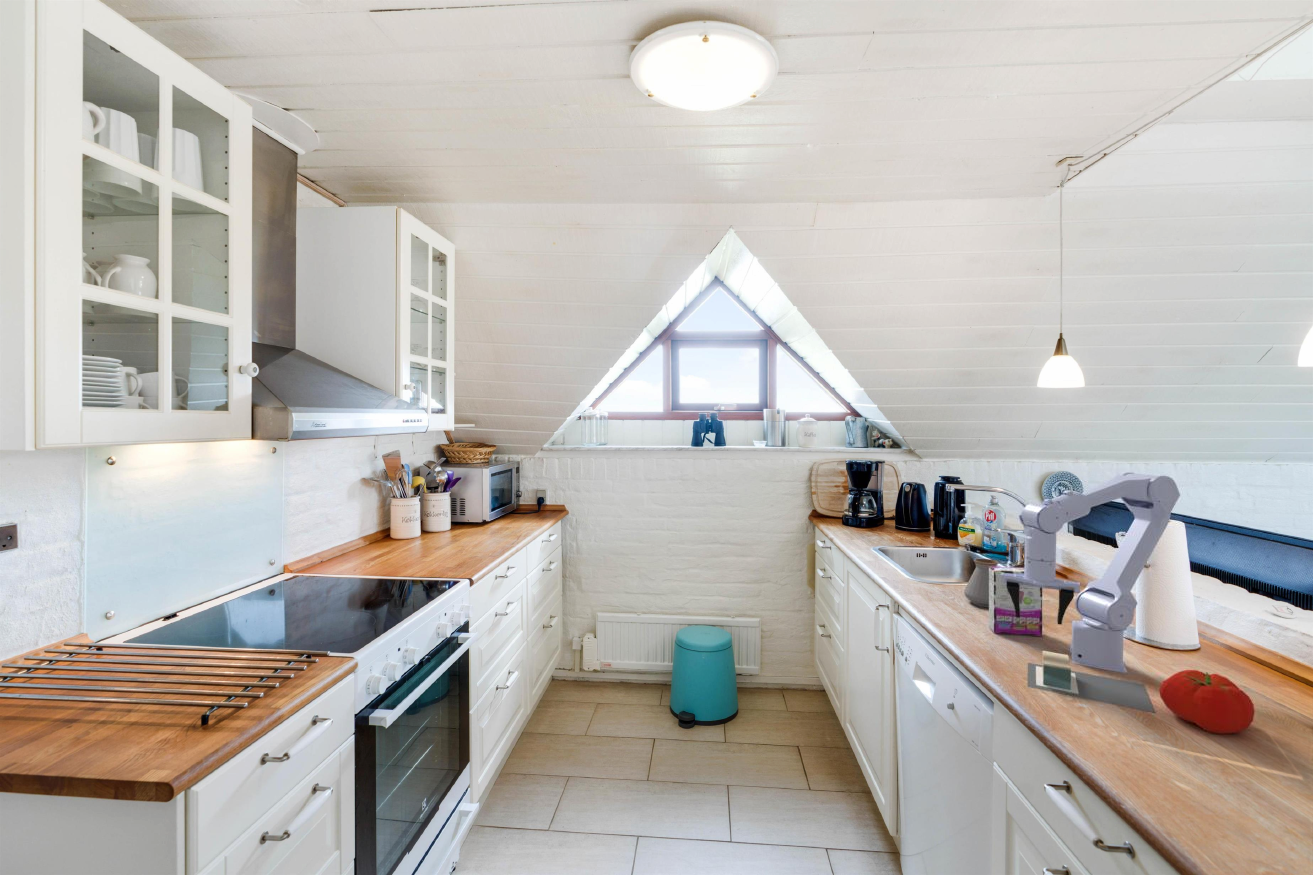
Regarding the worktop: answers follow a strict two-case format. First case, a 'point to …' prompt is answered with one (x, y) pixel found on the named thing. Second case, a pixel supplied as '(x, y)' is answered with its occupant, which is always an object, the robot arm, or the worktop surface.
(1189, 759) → the worktop surface
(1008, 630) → the candy bar box
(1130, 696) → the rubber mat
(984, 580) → the coffee pot
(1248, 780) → the worktop surface
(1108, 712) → the worktop surface
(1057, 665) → the green and cream block
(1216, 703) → the tomato
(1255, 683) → the worktop surface
